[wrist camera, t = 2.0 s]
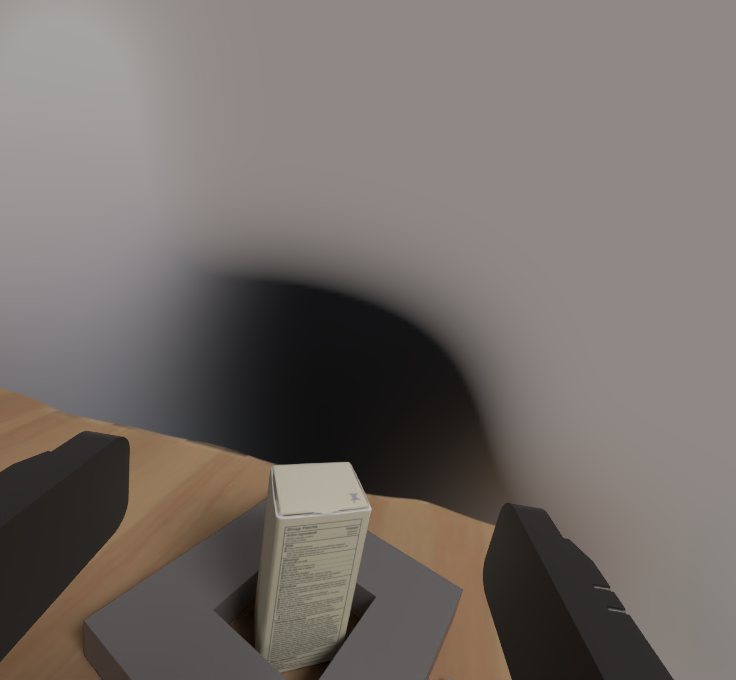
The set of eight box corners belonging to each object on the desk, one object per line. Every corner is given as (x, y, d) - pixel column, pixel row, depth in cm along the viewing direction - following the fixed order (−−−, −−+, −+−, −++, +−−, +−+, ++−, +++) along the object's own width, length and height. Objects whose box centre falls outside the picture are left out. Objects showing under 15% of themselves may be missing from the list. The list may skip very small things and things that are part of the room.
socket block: (84, 655, 21) (83, 620, 20) (286, 506, 34) (290, 482, 34) (312, 957, 14) (323, 918, 13) (454, 616, 27) (462, 589, 26)
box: (327, 596, 27) (355, 460, 24) (342, 662, 23) (378, 508, 20) (249, 607, 25) (269, 461, 22) (251, 681, 21) (276, 515, 18)
